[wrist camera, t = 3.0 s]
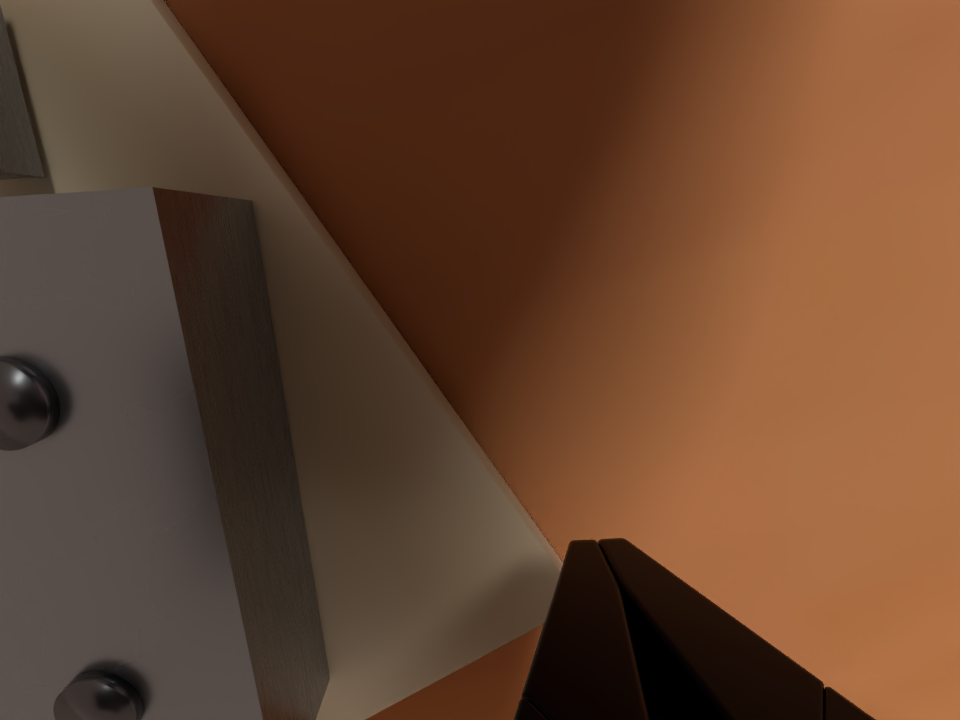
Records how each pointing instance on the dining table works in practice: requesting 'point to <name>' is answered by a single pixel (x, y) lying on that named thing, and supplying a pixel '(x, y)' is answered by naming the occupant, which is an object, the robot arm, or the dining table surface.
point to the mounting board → (303, 360)
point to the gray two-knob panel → (144, 459)
